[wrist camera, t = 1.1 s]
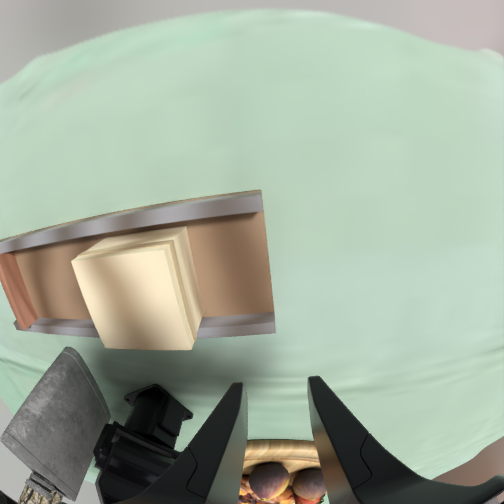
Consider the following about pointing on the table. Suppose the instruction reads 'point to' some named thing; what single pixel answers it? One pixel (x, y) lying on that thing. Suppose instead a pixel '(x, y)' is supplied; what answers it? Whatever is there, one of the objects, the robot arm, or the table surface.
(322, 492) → the wooden plate with food
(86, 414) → the flask
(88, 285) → the cream square block
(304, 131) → the table surface
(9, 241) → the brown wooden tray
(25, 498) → the tree log
